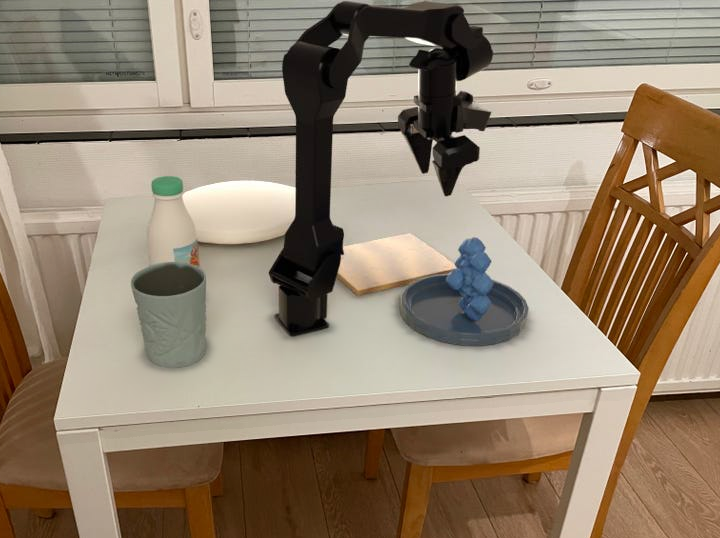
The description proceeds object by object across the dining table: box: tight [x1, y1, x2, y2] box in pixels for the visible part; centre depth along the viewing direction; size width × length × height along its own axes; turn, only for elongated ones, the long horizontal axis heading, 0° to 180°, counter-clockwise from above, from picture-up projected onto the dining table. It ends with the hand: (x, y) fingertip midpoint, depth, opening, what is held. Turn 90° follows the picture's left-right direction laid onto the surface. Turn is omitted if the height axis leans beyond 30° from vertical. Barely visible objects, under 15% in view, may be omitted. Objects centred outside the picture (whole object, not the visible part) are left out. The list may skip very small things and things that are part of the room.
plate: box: [182, 180, 295, 245], centre depth 145 cm, size 28×6×27 cm
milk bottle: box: [146, 175, 201, 268], centre depth 116 cm, size 8×8×20 cm
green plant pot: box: [130, 262, 207, 369], centre depth 105 cm, size 10×10×12 cm
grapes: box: [446, 236, 494, 321], centre depth 114 cm, size 12×7×12 cm, turn 6°
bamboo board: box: [336, 232, 457, 297], centre depth 132 cm, size 20×16×1 cm
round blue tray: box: [399, 274, 529, 347], centre depth 117 cm, size 19×19×2 cm
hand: (435, 183), depth 125 cm, fingers open, 9 cm apart
